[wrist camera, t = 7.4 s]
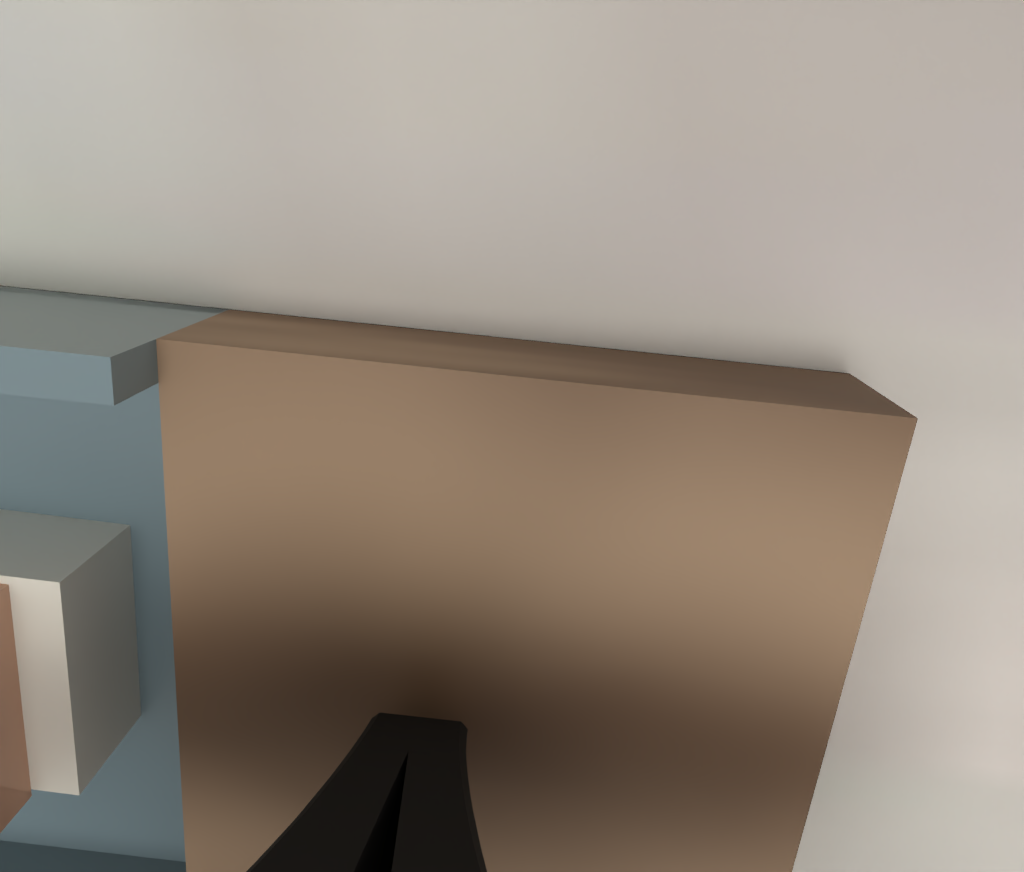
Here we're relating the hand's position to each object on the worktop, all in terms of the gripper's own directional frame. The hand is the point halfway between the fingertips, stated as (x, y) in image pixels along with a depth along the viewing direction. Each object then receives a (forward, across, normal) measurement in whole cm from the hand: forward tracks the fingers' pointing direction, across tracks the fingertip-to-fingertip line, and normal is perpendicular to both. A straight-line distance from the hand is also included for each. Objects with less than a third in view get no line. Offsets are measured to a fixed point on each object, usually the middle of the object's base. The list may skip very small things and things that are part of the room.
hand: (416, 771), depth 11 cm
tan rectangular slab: (+3, -1, 0) cm, 3 cm away
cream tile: (+3, +8, 0) cm, 8 cm away
